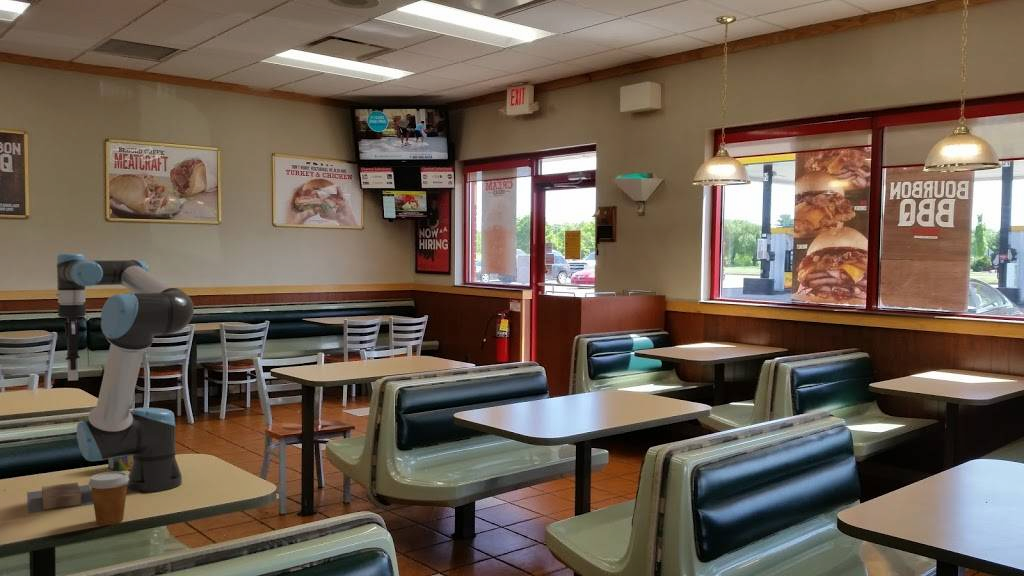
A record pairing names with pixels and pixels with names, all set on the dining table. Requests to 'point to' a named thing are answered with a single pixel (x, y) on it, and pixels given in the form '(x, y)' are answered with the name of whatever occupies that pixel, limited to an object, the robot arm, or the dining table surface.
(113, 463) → the chalk box
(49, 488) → the menu board
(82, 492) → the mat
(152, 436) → the robot arm
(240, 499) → the dining table surface
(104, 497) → the disposable coffee cup
